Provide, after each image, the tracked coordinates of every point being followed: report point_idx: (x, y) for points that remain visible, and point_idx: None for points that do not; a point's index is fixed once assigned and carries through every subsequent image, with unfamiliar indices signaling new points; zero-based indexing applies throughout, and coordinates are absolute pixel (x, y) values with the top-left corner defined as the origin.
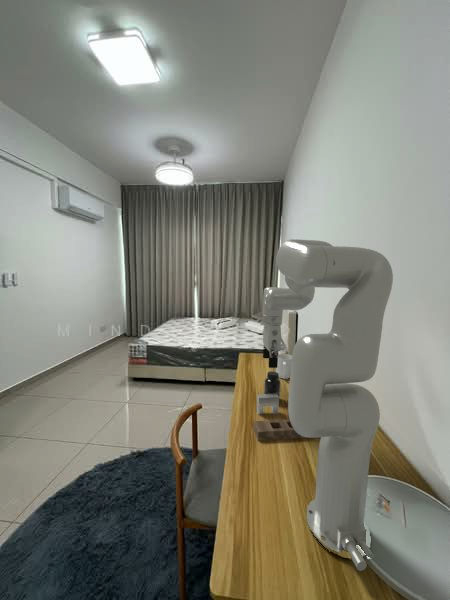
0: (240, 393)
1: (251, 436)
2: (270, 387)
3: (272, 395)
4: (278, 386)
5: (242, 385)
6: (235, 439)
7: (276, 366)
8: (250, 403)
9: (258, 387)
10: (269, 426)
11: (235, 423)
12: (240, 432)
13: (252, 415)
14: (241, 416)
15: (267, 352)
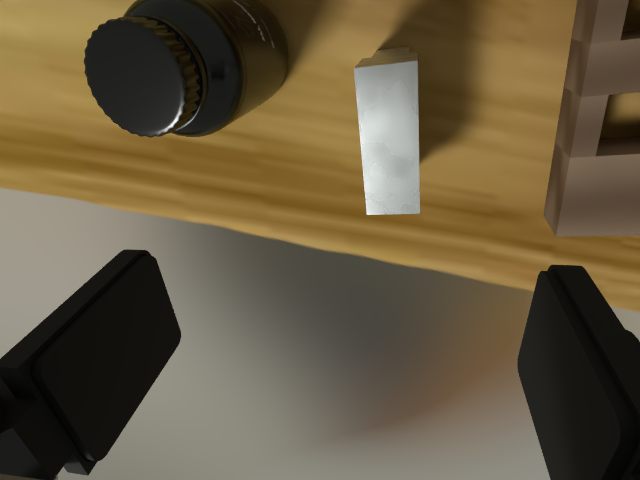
0: (204, 220)
1: None
2: (250, 96)
3: (385, 110)
4: (232, 22)
5: (114, 197)
6: None
7: (584, 287)
8: (300, 187)
9: None
10: (635, 165)
11: (479, 279)
12: None
13: None
14: (424, 248)
15: (112, 369)
